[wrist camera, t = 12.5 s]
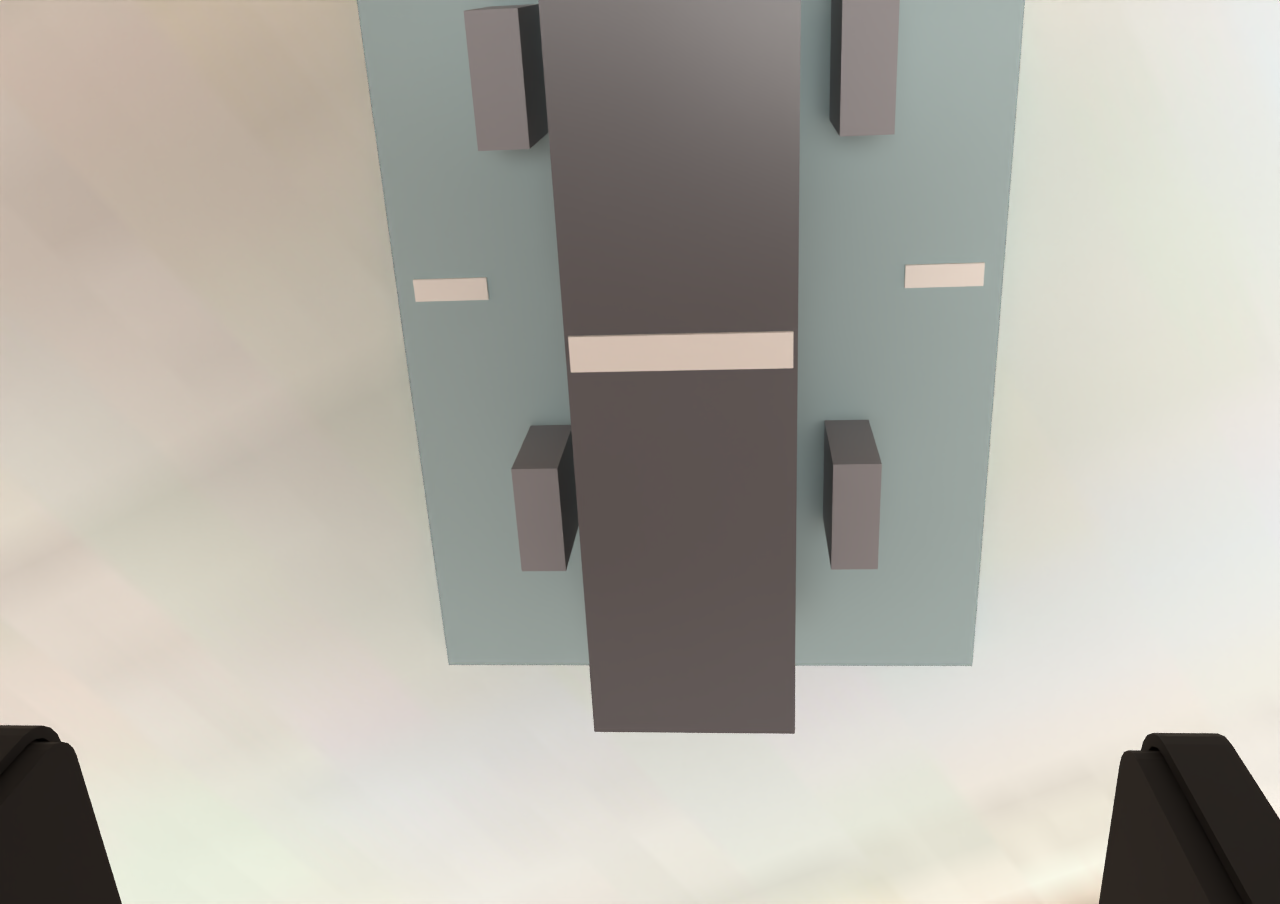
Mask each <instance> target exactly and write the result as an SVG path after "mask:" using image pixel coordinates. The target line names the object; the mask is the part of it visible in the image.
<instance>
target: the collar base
mask: <svg viewBox="0 0 1280 904" xmlns="http://www.w3.org/2000/svg"><path fill="white" fill-rule="evenodd" d="M357 4H358V12H359V19H360V26H361V33H362V41H363V48H364V55H365V62H366V69H367V77H368V84H369V91H370V98H371V106H372V113H373V120H374V127H375V135H376V142H377V149H378V156H379V163H380V171H381V178H382V185H383V192H384V200H385V207H386V214H387V221H388V229H389V236H390V243H391V250H392V257H393V265H394V272H395V279H396V286H397V294H398V301H399V308H400V315H401V323H402V330H403V337H404V344H405V352H406V359H407V366H408V373H409V380H410V388H411V395H412V402H413V409H414V417H415V424H416V431H417V438H418V446H419V453H420V460H421V467H422V474H423V482H424V489H425V496H426V503H427V511H428V518H429V525H430V532H431V540H432V547H433V554H434V561H435V568H436V576H437V583H438V590H439V597H440V605H441V612H442V619H443V626H444V634H445V641H446V648H447V655H448V662H449V665H589V653H588V640H587V627H586V614H585V601H584V588H583V575H582V562H581V549H580V536H579V523H578V510H577V497H576V484H575V471H574V458H573V445H572V432H571V419H570V406H569V393H568V380H567V367H566V354H565V341H564V328H563V315H562V302H561V289H560V276H559V263H558V250H557V237H556V224H555V211H554V198H553V185H552V172H551V159H550V146H549V133H548V120H547V107H546V94H545V81H544V68H543V55H542V41H541V28H540V15H539V2H538V0H357ZM1024 5H1025V0H801V49H800V164H799V279H798V394H797V508H796V623H795V665H839V666H972V661H973V648H974V636H975V623H976V611H977V598H978V585H979V573H980V560H981V548H982V535H983V522H984V510H985V497H986V484H987V472H988V459H989V447H990V434H991V421H992V409H993V396H994V383H995V371H996V358H997V346H998V333H999V320H1000V308H1001V295H1002V283H1003V270H1004V257H1005V245H1006V232H1007V219H1008V207H1009V194H1010V182H1011V169H1012V156H1013V144H1014V131H1015V118H1016V106H1017V93H1018V81H1019V68H1020V55H1021V43H1022V30H1023V18H1024Z"/></svg>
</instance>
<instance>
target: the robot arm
mask: <svg viewBox="0 0 1280 904" xmlns="http://www.w3.org/2000/svg"><path fill="white" fill-rule="evenodd" d="M0 904H122V903H121V900H120V896H119V893H118V890H117V886H116V883H115V880H114V877H113V873H112V870H111V867H110V863H109V860H108V857H107V854H106V850H105V847H104V844H103V840H102V837H101V834H100V831H99V827H98V824H97V821H96V818H95V814H94V811H93V808H92V804H91V801H90V798H89V795H88V791H87V788H86V785H85V781H84V778H83V775H82V772H81V768H80V765H79V762H78V758H77V755H76V753H75V751H74V749H73V747H71V746H70V745H69V744H68V743H64V742H61V741H60V739H59V737H58V734H57V733H56V732H55V731H54V730H52V729H51V728H50V727H46V726H17V725H0ZM1099 904H1280V819H1279V817H1278V816H1277V814H1276V813H1275V811H1274V810H1273V808H1272V807H1271V805H1270V803H1269V802H1268V800H1267V799H1266V797H1265V796H1264V794H1263V793H1262V791H1261V789H1260V788H1259V786H1258V785H1257V783H1256V782H1255V780H1254V779H1253V777H1252V775H1251V774H1250V772H1249V771H1248V769H1247V768H1246V766H1245V765H1244V763H1243V761H1242V760H1241V758H1240V757H1239V755H1238V754H1237V752H1236V750H1235V749H1234V747H1233V746H1232V744H1231V743H1230V742H1229V741H1228V740H1227V738H1226V737H1225V736H1222V735H1220V734H1213V733H1152V734H1149V735H1147V736H1146V738H1145V740H1144V741H1143V744H1142V748H1141V751H1132V750H1128V751H1126V752H1124V754H1123V755H1122V757H1121V761H1120V766H1119V773H1118V779H1117V786H1116V793H1115V799H1114V806H1113V813H1112V819H1111V826H1110V833H1109V839H1108V846H1107V853H1106V859H1105V866H1104V873H1103V879H1102V886H1101V893H1100V900H1099Z"/></svg>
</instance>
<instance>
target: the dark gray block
mask: <svg viewBox="0 0 1280 904" xmlns="http://www.w3.org/2000/svg"><path fill="white" fill-rule="evenodd" d="M538 2H539V15H540V28H541V41H542V55H543V68H544V81H545V94H546V107H547V120H548V133H549V146H550V159H551V172H552V185H553V198H554V211H555V224H556V237H557V250H558V263H559V276H560V289H561V302H562V315H563V328H564V341H565V354H566V367H567V380H568V393H569V406H570V419H571V432H572V445H573V458H574V471H575V484H576V497H577V510H578V523H579V536H580V549H581V562H582V575H583V588H584V601H585V614H586V627H587V640H588V653H589V666H590V679H591V692H592V705H593V718H594V731H595V732H683V733H790V734H795V623H796V508H797V394H798V279H799V164H800V49H801V0H538Z"/></svg>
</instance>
